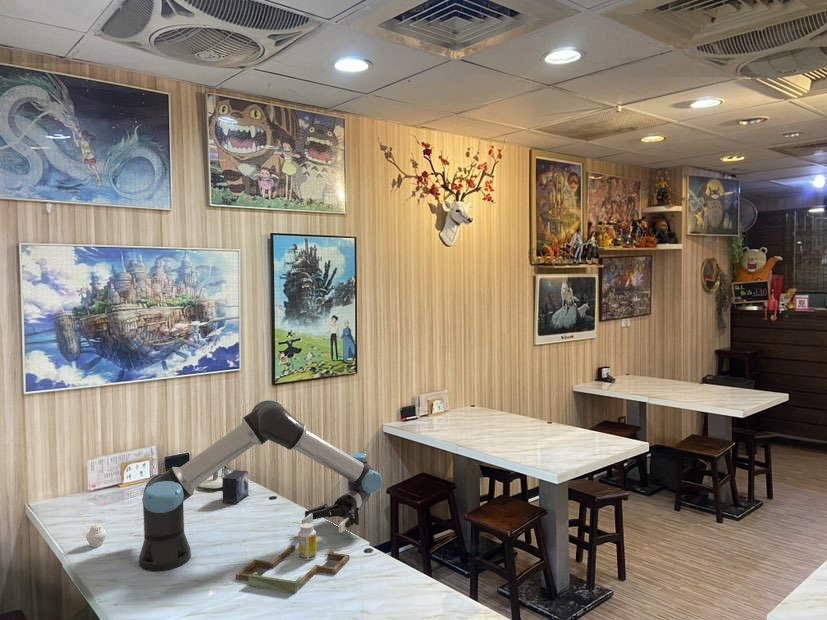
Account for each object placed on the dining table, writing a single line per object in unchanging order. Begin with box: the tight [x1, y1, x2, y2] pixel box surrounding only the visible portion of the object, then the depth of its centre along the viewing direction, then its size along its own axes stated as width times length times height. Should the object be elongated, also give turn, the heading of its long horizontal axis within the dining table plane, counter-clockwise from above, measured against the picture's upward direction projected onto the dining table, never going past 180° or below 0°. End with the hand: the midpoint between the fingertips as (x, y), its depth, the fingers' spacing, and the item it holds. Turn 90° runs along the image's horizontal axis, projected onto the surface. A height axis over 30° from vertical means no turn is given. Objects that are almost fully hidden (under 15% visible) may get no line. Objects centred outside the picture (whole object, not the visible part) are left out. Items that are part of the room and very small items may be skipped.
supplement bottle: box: [297, 522, 317, 561], centre depth 193 cm, size 6×6×10 cm
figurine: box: [197, 465, 231, 489], centre depth 266 cm, size 20×18×16 cm
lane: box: [235, 544, 350, 594], centre depth 185 cm, size 25×27×3 cm
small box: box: [221, 469, 249, 505], centre depth 246 cm, size 11×6×10 cm, turn 168°
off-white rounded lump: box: [85, 524, 108, 548], centre depth 205 cm, size 6×6×7 cm
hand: (321, 526), depth 202 cm, fingers open, 13 cm apart
